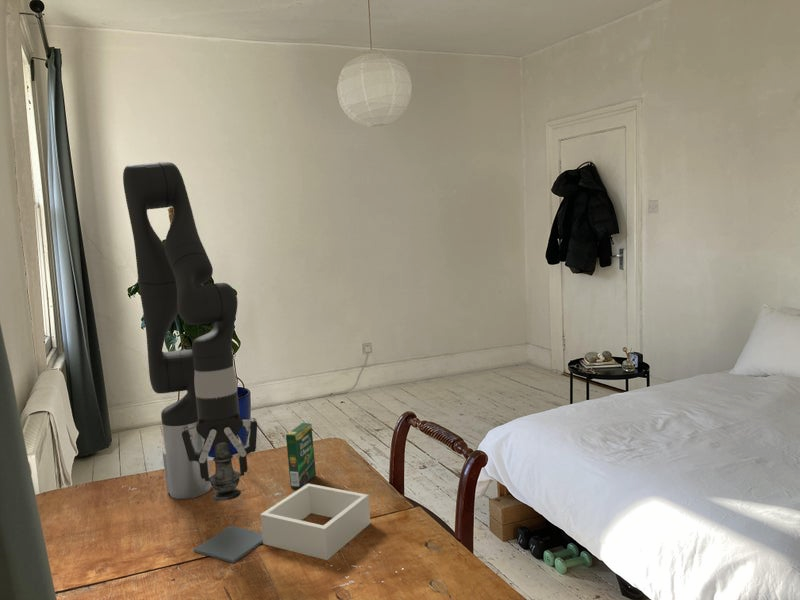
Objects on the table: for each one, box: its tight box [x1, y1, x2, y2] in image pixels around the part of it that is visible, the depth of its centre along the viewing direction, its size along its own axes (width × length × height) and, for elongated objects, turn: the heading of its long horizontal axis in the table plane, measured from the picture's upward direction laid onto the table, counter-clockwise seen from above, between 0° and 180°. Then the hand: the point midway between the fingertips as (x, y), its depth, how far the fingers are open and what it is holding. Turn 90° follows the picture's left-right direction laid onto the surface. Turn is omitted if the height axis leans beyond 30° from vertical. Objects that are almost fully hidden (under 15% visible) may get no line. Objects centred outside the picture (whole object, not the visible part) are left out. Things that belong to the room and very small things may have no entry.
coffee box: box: [285, 422, 317, 490], centre depth 151 cm, size 8×3×13 cm, turn 159°
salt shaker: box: [209, 442, 242, 502], centre depth 122 cm, size 6×6×12 cm
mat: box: [193, 525, 263, 564], centre depth 124 cm, size 10×10×1 cm
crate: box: [260, 483, 371, 561], centre depth 126 cm, size 15×15×6 cm
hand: (225, 476), depth 123 cm, fingers closed on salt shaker, 6 cm apart
